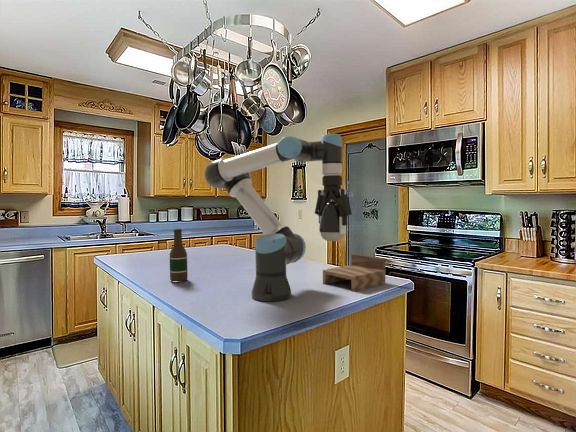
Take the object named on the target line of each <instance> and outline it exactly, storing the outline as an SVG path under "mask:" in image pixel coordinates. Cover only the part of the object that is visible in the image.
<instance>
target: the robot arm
mask: <svg viewBox="0 0 576 432" xmlns="http://www.w3.org/2000/svg"><path fill="white" fill-rule="evenodd" d="M342 140H343V139H342V136H341V135H340V134H339V133H328V134H327V133H326V134H323V135H322V136H321V140H318V141H308V140H304V139H301V138H297V137H295V136H291V135H290V136H289V135H287V136H283V137H282V138H281V139H280V140H279V141H278V142H275V143H272V144H268V145H266V146H263V147H260V148H257V149H254V150H251V151H249V152H245V153H241V154H240V155H235V156H233V157H230V158H226V157H221V158H219V159H216V160H213V161H211V162H209V163H208V164H207V166H206V167H205V170H204V178H205V181H206V182H207V184H208V185H209V186H211V187H212V188H215V189H221V190H222V189H224V190H225V191H226V192H227V194H228V195H229V196H230V197H232V198H235V199H236V200H237V201H238V202H239V204H240V205H241V206H242V207H243V208H244V210H245V211H246V213H247V214H248V215H249V216H250V218H251V219H252V221H253V223H255V224H256V226H257V227H258V228H259V230H260V231H261V232H262V233H263V235H259V236H258V237H257V238H256V240H255V245H254V250H255V251H254V252H255V278H254V279H255V280H254V282H253V286H252V289H251V298H252V299H253V300H256V301H259V302H281V301H286V300H287V299H290V298H291V297H292V289H291V286H290V285H291V284H290V283H289V281H288V276H287V265H289V264H293V263H297V262H298V261H299V260H301V259H302V258H303V257H304V255H305V253H306V246H307V245H306V242H305V239H304V238H303V237H302V236H301V235H300V234H299V233H298V234H297V233H294V232H293V231H292V229H291V228H290V227H289V226H288V225H284V224H282V223H281V221H280V219H278V218H277V216H276V215H275V214H274V212H273V211H272V210H271V208H270V207H269V206H268V205H267V203H266V202H265V201H264V200H263V199H262V197H261V196H260V194H259V193H258V192H257V191H256V189H255V188H254V187H253V186H252V183H253V181H252V179H251V172H255V171H257V170H261V169H264V168H265V169H266V168H268V167H271V166H275V165H277V164H280V163H284V162H288V161H292V160H294V161H295V162H297V163H306V162H307V163H308V162H318V161H320V162H321V165H322V167H321V168H322V169H321V174H322V175H323V176H322V177H321V178H322V179H321V180H322V186H323V189H318V190H317V199H316V204H315V210H314V214H315V215H317V216H318V223H319V225H320V220H321V216H322V212H323V210H324V207H325V205H326V204H327V203H328V202H330V201H335V202H336V204H337V203H338V204H339V206H338V209H339V212H340V214H341V216H340V234H345V235H346V234H347V226H348V217H349V216H352V215H353V214H352V208H351V205H350V204H351V203H350V199H349V195H348V194H349V193H348V189H347V188H342V185H343V176H342V174H343V142H342Z"/></svg>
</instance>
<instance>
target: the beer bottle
mask: <svg viewBox="0 0 576 432" xmlns="http://www.w3.org/2000/svg"><path fill="white" fill-rule="evenodd" d="M182 232H183V229H181V228H174V229H173V247H172V248H171V250H170V252H169V278H170V280H171V281H184V282H186V281H188V273H189V272H188V253H187V251H186V250H187V249H186V248H185V247H184V245H183V237H182ZM185 280H186V281H185ZM171 281H170V282H171Z"/></svg>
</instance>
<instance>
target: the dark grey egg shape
mask: <svg viewBox="0 0 576 432" xmlns="http://www.w3.org/2000/svg"><path fill="white" fill-rule="evenodd" d="M338 206H339V204H338V203H337V204H336V202H335V201H334V200H331V201H330V202H328V203H327V204H326V205H325V207H324V210H323V212H322V216H321V220H320V224H319V227H318V228H319V230H318V231H319V234H320V236H321V238H322V239H323V240H325V241H327V242H338V241H341V240H343V239H344V236H345V235H346V234H340V216H341V214H340V212H339V209H338Z"/></svg>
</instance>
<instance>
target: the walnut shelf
mask: <svg viewBox="0 0 576 432" xmlns="http://www.w3.org/2000/svg"><path fill="white" fill-rule="evenodd" d="M347 280H351V281H350V282H351V286H350V287H351V292H353V293H354V292H359V291H362V290H367V289H370V288H375V287H378V286H382V285H386V258H383V257H378V256H377V257H375V256H371V255H363V254H362V255H361V254H356V253H351V264H348V265H343V266H337V267H333V268H332V267H331V268H326V269H322V284H323V285H329V284H333V283H337V282H343V281H347Z"/></svg>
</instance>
